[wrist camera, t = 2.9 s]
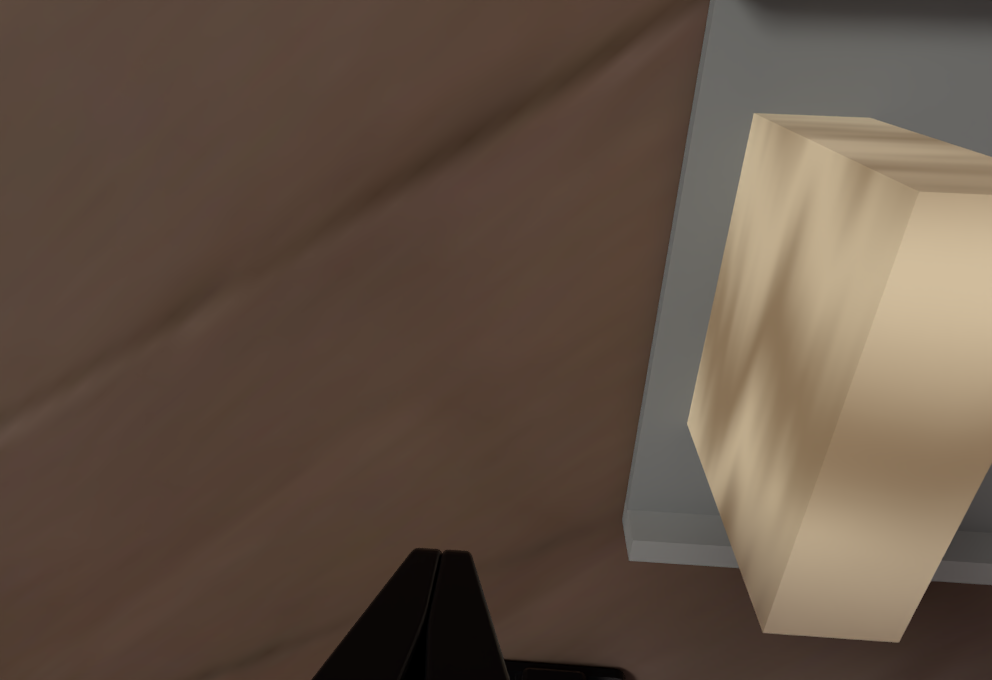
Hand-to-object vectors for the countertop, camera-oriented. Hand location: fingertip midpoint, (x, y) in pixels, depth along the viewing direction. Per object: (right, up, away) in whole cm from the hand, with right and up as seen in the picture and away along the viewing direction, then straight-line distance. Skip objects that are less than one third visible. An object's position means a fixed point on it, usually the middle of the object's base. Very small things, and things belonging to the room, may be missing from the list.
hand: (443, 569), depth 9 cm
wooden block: (+9, +5, +9) cm, 14 cm away
